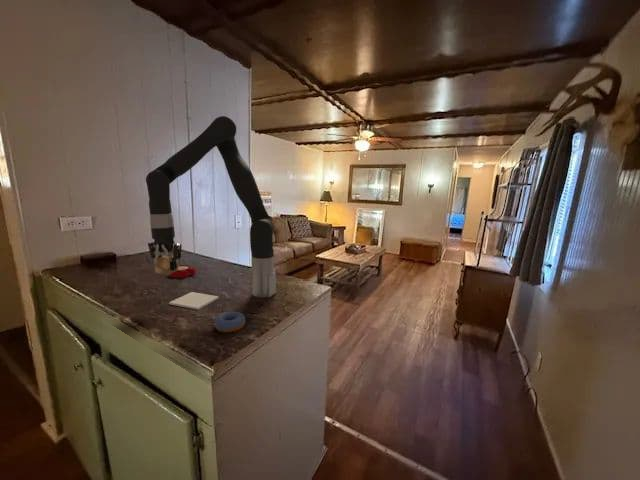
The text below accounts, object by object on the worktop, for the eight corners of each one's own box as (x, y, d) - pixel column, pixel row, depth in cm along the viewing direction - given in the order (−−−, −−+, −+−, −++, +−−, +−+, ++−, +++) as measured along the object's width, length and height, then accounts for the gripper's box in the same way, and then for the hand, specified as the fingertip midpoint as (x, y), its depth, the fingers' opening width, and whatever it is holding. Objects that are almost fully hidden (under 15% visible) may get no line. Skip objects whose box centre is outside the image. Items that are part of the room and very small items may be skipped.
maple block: (178, 269, 107) (177, 256, 106) (167, 274, 102) (165, 259, 101) (167, 268, 109) (166, 255, 108) (155, 272, 104) (154, 258, 103)
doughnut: (207, 329, 90) (208, 316, 89) (227, 318, 99) (228, 306, 98) (232, 338, 87) (233, 325, 86) (250, 326, 96) (251, 313, 95)
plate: (218, 298, 116) (218, 296, 116) (198, 309, 105) (198, 307, 104) (191, 293, 120) (191, 291, 120) (169, 304, 109) (169, 302, 109)
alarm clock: (181, 264, 152) (199, 261, 145) (183, 275, 153) (202, 273, 146) (163, 269, 143) (182, 266, 136) (166, 280, 143) (185, 279, 137)
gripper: (185, 225, 104) (189, 268, 107) (155, 224, 108) (160, 265, 111) (169, 228, 97) (174, 274, 100) (138, 226, 101) (144, 270, 104)
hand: (167, 269), depth 105 cm, fingers closed on maple block, 5 cm apart
